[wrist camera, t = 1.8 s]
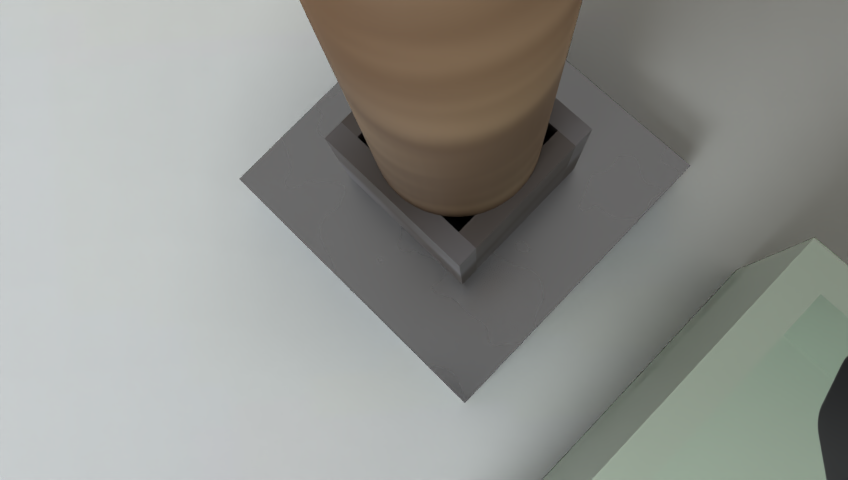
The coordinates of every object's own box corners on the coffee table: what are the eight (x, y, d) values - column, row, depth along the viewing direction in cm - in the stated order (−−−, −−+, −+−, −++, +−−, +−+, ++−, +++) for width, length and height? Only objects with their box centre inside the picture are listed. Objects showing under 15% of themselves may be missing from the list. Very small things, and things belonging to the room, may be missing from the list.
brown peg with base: (574, 168, 18) (791, -305, 6) (462, 284, 18) (425, 59, 5) (458, 66, 19) (417, -557, 6) (348, 175, 19) (74, -252, 6)
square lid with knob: (674, 181, 20) (726, 129, 16) (466, 400, 19) (462, 406, 15) (457, -5, 21) (452, -98, 17) (256, 193, 20) (200, 146, 16)
